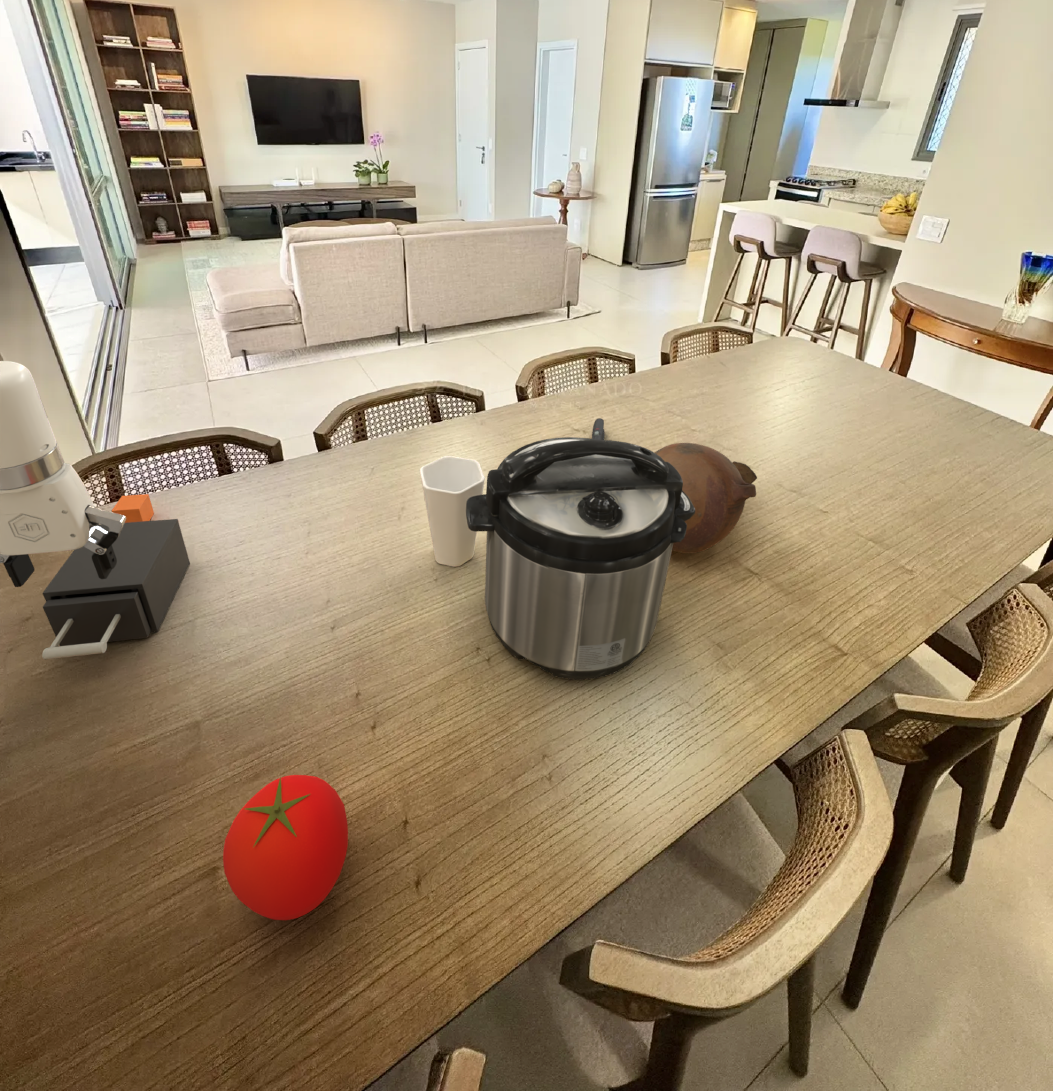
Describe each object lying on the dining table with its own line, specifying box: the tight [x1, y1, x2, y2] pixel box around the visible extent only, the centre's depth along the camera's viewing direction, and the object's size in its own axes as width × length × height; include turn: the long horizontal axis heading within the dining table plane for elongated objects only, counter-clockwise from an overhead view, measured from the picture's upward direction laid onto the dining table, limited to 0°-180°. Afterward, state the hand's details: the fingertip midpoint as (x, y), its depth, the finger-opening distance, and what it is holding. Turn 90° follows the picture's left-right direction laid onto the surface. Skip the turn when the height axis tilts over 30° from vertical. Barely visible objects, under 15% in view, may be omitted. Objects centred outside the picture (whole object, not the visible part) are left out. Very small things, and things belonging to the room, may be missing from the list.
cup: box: [419, 455, 486, 568], centre depth 102 cm, size 11×10×17 cm
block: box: [111, 493, 155, 523], centre depth 109 cm, size 4×4×4 cm
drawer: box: [41, 589, 151, 660], centre depth 86 cm, size 20×11×8 cm, turn 10°
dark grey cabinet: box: [42, 518, 191, 634], centre depth 91 cm, size 15×13×10 cm
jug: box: [653, 442, 758, 554], centre depth 111 cm, size 20×20×30 cm
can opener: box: [591, 417, 606, 440], centre depth 138 cm, size 18×7×6 cm, turn 167°
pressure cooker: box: [466, 436, 695, 681], centre depth 87 cm, size 30×28×32 cm
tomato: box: [222, 774, 349, 921], centre depth 58 cm, size 11×11×13 cm
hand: (67, 575), depth 77 cm, fingers open, 9 cm apart
